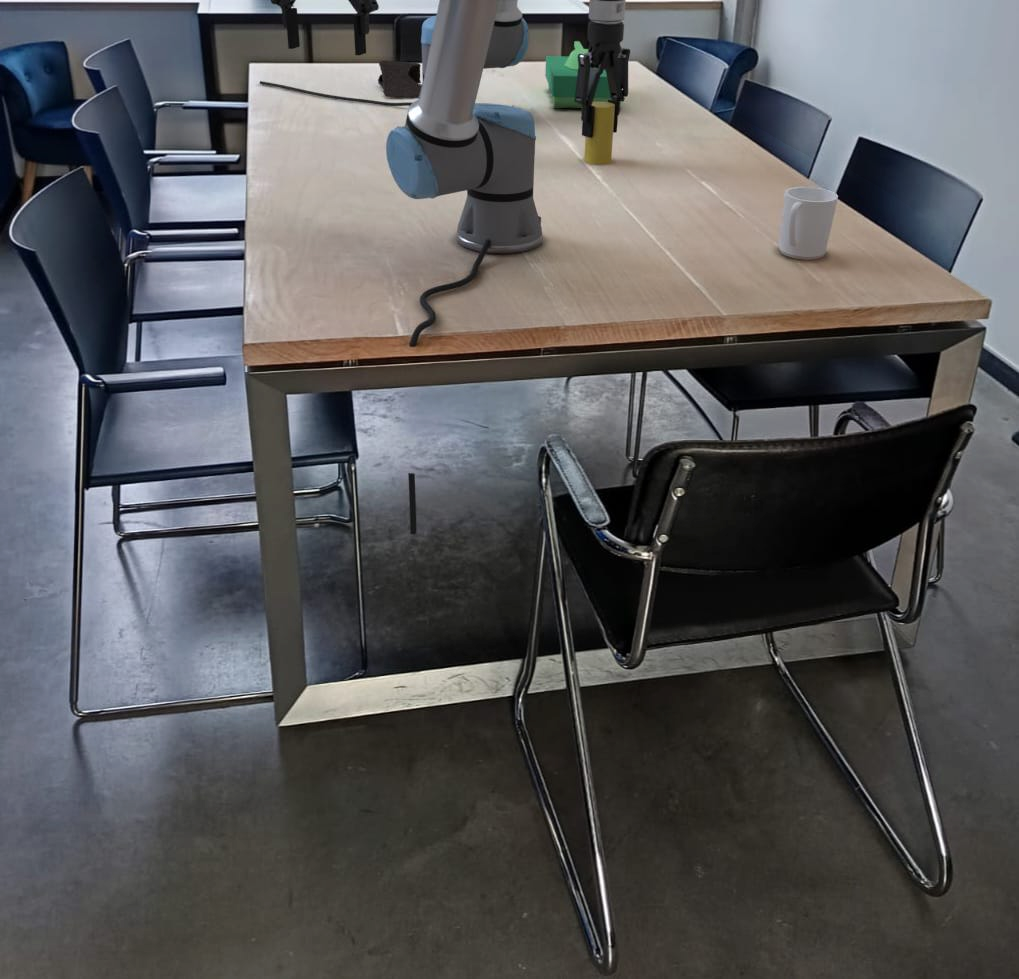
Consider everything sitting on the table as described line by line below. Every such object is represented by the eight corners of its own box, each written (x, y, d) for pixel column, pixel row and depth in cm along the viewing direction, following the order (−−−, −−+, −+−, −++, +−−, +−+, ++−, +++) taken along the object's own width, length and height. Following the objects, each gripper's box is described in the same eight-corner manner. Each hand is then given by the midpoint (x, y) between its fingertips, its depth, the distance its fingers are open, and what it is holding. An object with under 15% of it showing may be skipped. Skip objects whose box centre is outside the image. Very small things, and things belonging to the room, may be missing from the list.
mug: (790, 240, 199) (799, 183, 193) (836, 251, 194) (846, 193, 188) (761, 255, 191) (769, 197, 186) (808, 267, 186) (818, 208, 181)
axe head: (443, 87, 294) (392, 77, 287) (436, 115, 299) (385, 106, 292) (421, 62, 307) (371, 52, 300) (414, 89, 311) (365, 80, 304)
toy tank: (607, 38, 308) (624, 61, 278) (604, 83, 314) (620, 111, 284) (544, 36, 307) (554, 60, 277) (542, 82, 313) (552, 110, 283)
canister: (615, 160, 244) (619, 104, 237) (602, 166, 239) (606, 109, 233) (592, 156, 247) (595, 100, 240) (579, 161, 242) (582, 105, 236)
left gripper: (585, 27, 220) (579, 144, 232) (651, 19, 231) (642, 130, 243) (559, 22, 225) (554, 137, 237) (626, 14, 236) (618, 124, 248)
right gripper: (394, -80, 185) (398, 53, 196) (267, -87, 192) (278, 41, 203) (374, -77, 179) (379, 60, 190) (243, -85, 186) (255, 48, 197)
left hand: (599, 133), depth 240 cm, fingers open, 7 cm apart
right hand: (327, 51), depth 197 cm, fingers open, 13 cm apart
